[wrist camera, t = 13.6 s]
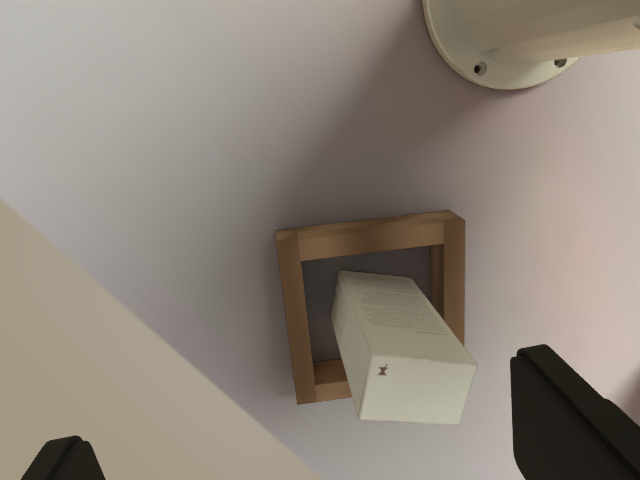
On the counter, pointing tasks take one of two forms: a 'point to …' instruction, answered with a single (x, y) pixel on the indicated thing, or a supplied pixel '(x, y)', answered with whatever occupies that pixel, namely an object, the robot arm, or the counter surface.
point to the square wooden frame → (359, 238)
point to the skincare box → (398, 351)
